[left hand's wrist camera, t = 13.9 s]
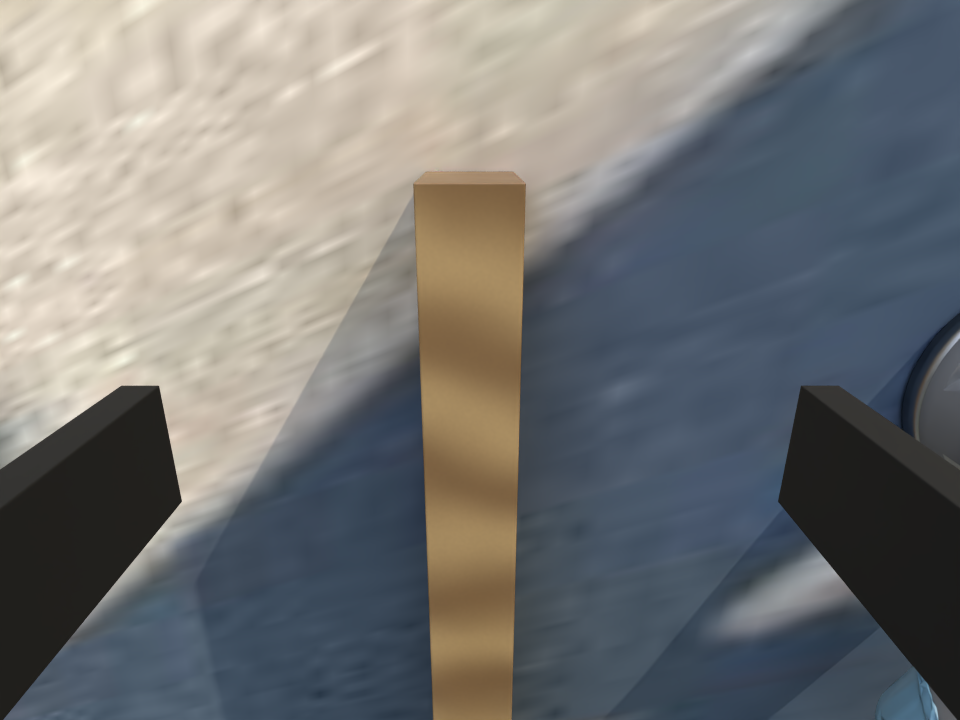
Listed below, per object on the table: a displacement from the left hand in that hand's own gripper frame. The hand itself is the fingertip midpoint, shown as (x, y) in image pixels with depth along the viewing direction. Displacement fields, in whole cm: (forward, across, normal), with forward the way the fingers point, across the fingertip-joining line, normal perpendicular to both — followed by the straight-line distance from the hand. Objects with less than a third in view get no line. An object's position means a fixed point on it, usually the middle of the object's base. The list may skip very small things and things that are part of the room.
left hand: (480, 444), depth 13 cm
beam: (+25, -1, -34) cm, 42 cm away
